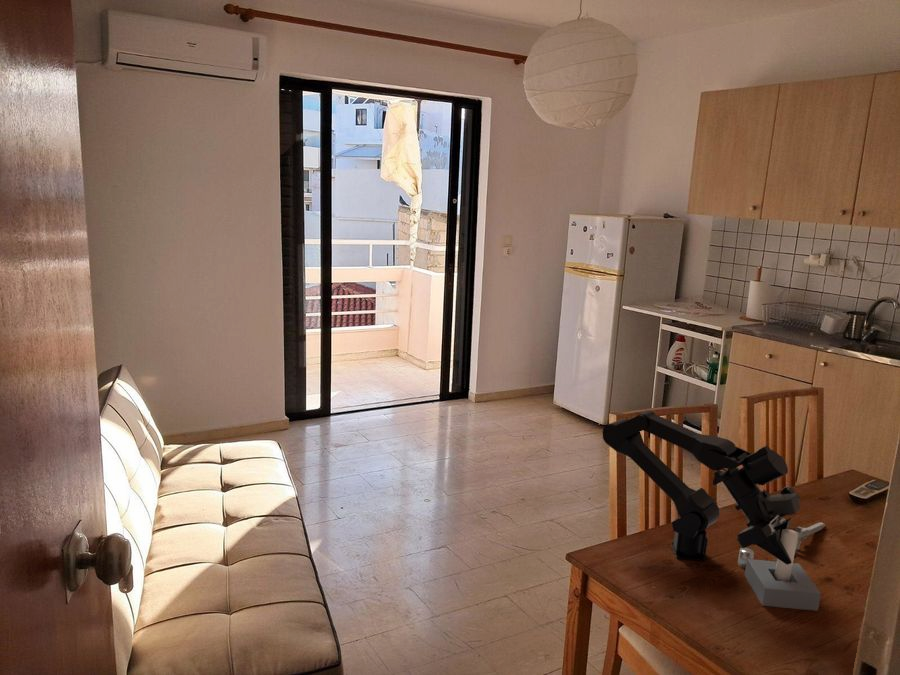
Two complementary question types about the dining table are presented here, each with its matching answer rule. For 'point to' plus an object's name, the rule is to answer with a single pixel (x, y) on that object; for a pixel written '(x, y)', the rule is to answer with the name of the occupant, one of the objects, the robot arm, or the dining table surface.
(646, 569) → the dining table surface
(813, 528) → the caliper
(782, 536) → the ivory pin
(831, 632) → the dining table surface
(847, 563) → the dining table surface
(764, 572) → the hole block
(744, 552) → the short stub
